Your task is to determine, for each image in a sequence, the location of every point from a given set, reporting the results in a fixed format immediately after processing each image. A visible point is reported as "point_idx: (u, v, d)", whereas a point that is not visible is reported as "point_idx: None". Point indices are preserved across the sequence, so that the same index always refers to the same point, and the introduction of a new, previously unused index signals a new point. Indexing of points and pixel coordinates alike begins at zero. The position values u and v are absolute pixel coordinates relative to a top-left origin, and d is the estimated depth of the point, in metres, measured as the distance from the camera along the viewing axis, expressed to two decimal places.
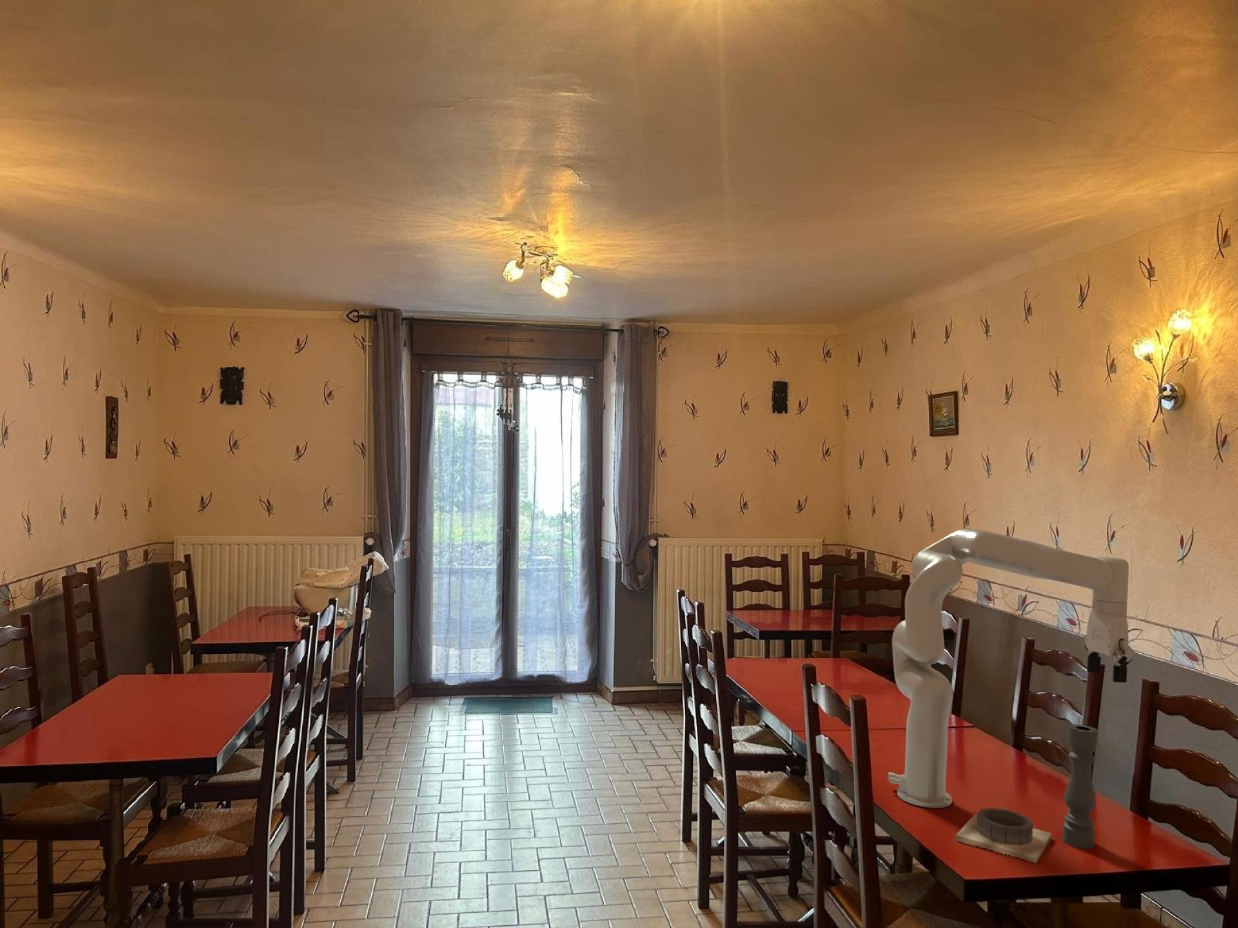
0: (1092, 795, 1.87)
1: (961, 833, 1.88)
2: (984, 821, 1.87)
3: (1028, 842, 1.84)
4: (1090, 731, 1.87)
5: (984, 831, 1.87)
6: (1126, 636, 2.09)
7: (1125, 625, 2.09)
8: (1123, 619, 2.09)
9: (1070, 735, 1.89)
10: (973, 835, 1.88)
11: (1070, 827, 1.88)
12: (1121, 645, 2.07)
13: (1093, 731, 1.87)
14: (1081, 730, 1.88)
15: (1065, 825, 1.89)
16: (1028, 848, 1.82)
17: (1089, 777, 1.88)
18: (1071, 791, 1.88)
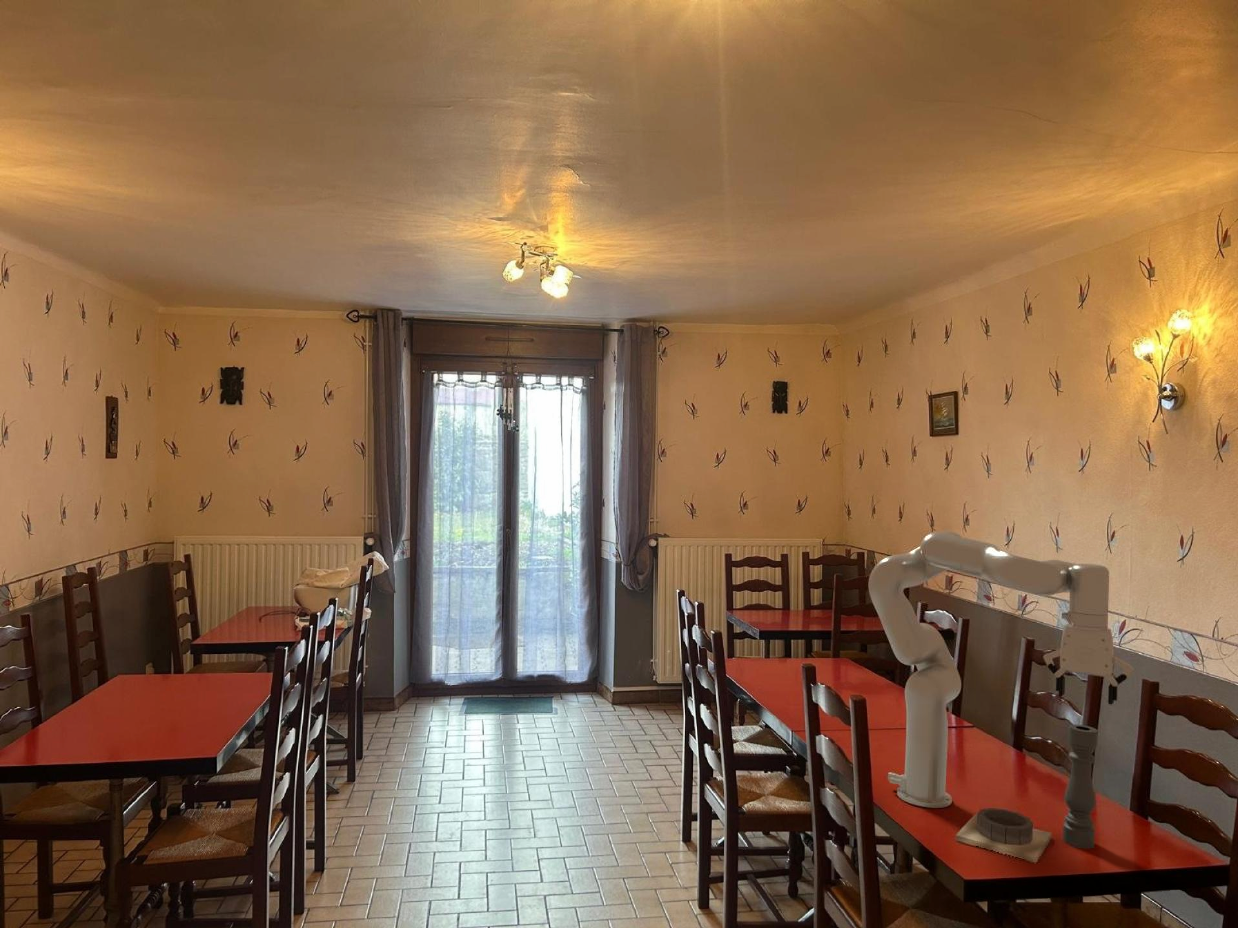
0: (1092, 795, 1.87)
1: (961, 833, 1.88)
2: (984, 821, 1.87)
3: (1028, 842, 1.84)
4: (1090, 731, 1.87)
5: (984, 831, 1.87)
6: None
7: (1112, 639, 1.87)
8: (1111, 632, 1.87)
9: (1070, 735, 1.89)
10: (973, 835, 1.88)
11: (1070, 827, 1.88)
12: (1117, 662, 1.85)
13: (1093, 731, 1.87)
14: (1081, 730, 1.88)
15: (1065, 825, 1.89)
16: (1028, 848, 1.82)
17: (1089, 777, 1.88)
18: (1071, 791, 1.88)
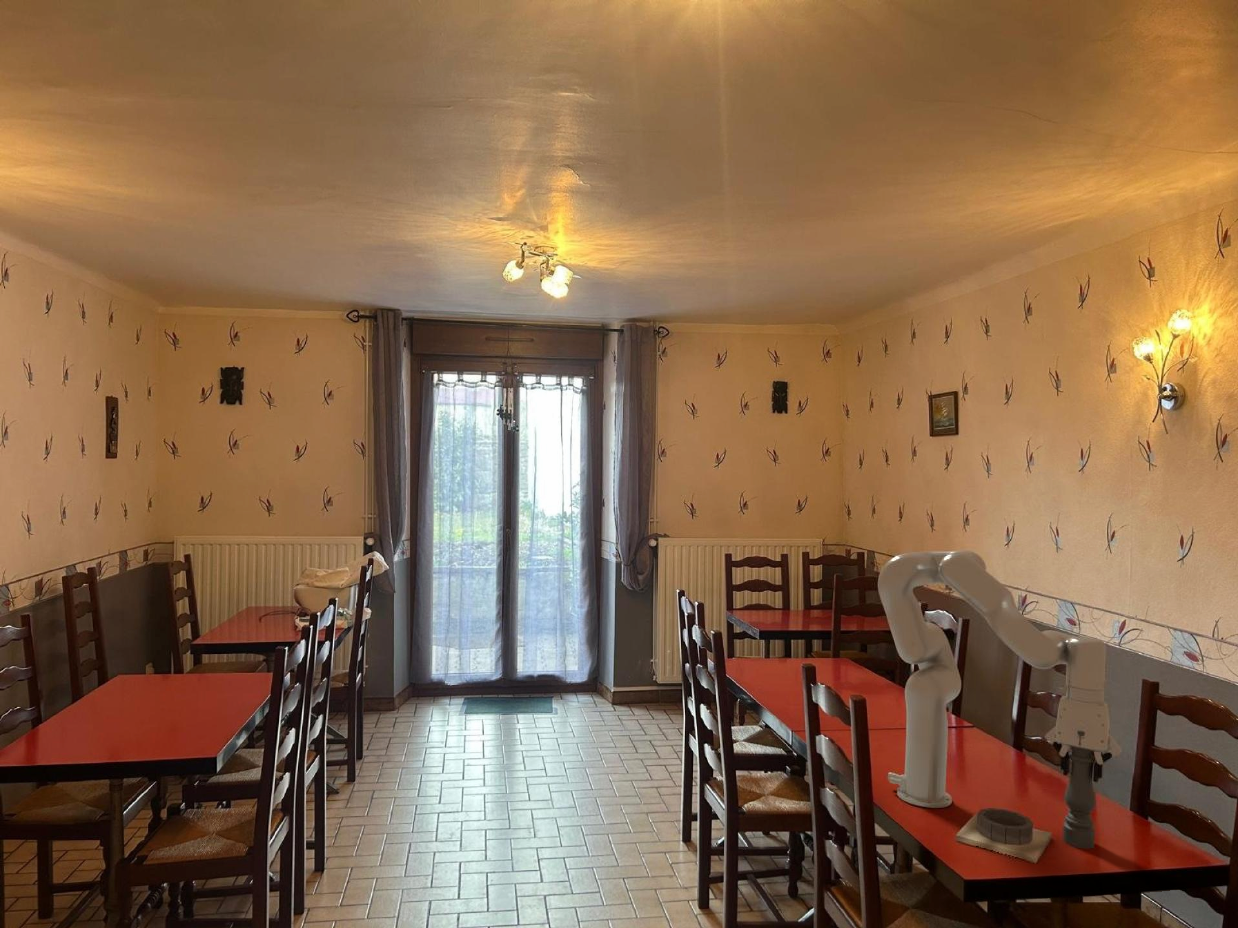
0: (1092, 795, 1.87)
1: (961, 833, 1.88)
2: (984, 821, 1.87)
3: (1028, 842, 1.84)
4: None
5: (984, 831, 1.87)
6: (1109, 725, 1.87)
7: (1108, 713, 1.87)
8: (1107, 706, 1.87)
9: None
10: (973, 835, 1.88)
11: (1070, 827, 1.88)
12: (1109, 740, 1.86)
13: None
14: None
15: (1065, 825, 1.89)
16: (1028, 848, 1.82)
17: (1089, 777, 1.88)
18: (1071, 791, 1.88)
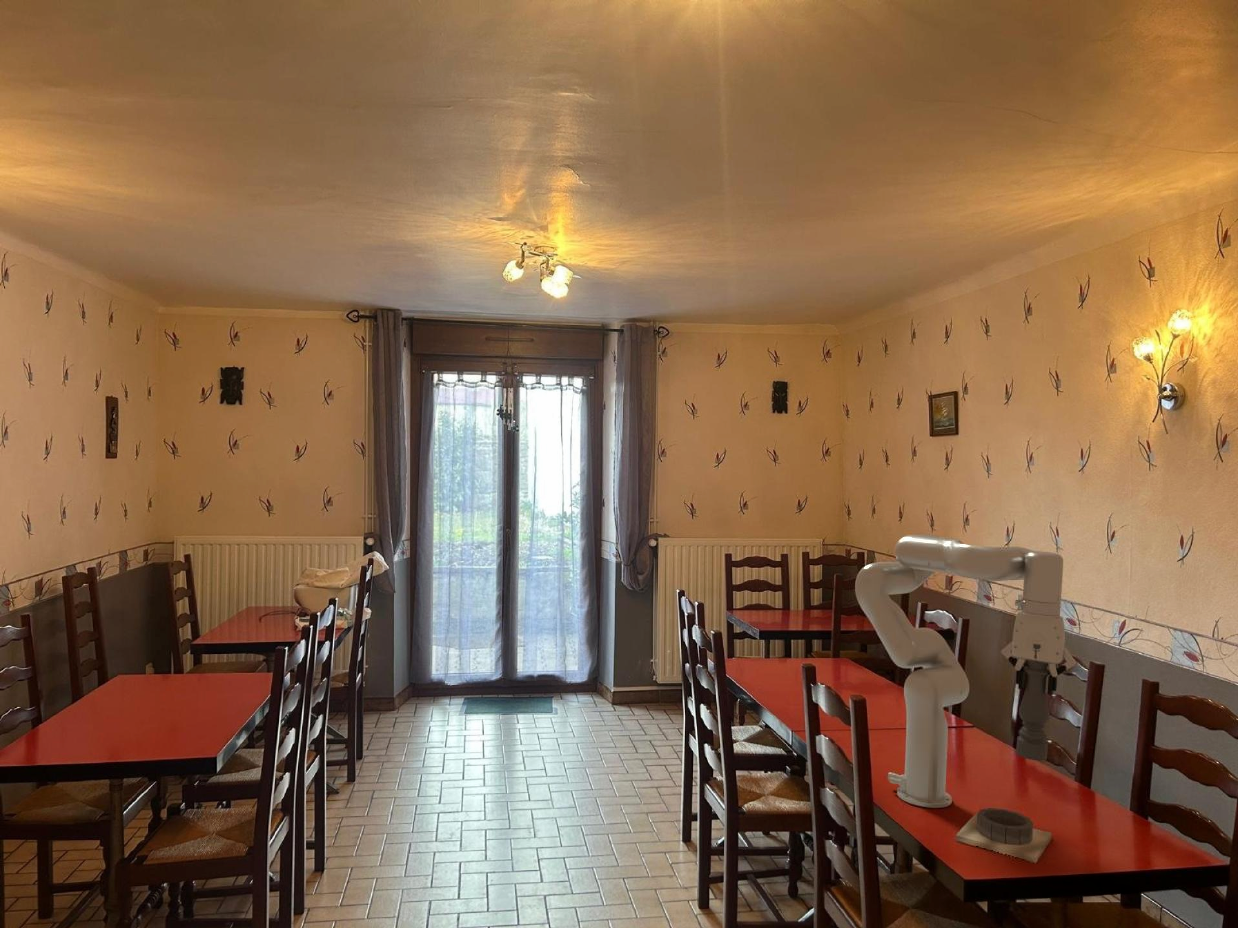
0: (1046, 708, 1.87)
1: (961, 833, 1.88)
2: (984, 821, 1.87)
3: (1028, 842, 1.84)
4: None
5: (984, 831, 1.87)
6: None
7: None
8: None
9: None
10: (973, 835, 1.88)
11: (1024, 740, 1.88)
12: (1064, 653, 1.86)
13: None
14: None
15: (1018, 738, 1.90)
16: (1028, 848, 1.82)
17: (1044, 690, 1.88)
18: (1026, 704, 1.88)
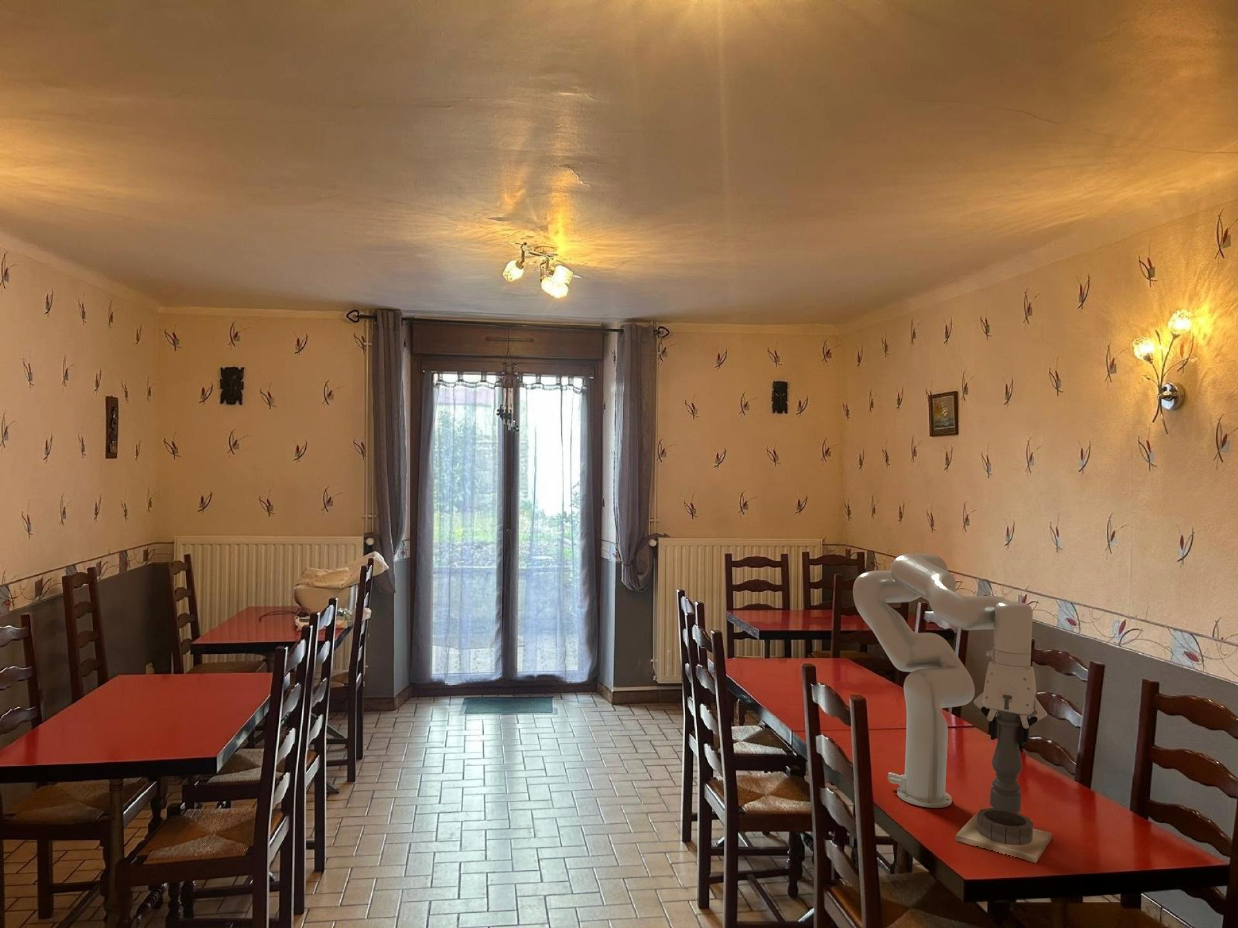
0: (1018, 759, 1.87)
1: (961, 833, 1.88)
2: (984, 821, 1.87)
3: (1028, 842, 1.84)
4: None
5: (984, 831, 1.87)
6: None
7: None
8: None
9: None
10: (973, 835, 1.88)
11: (996, 791, 1.88)
12: (1034, 704, 1.85)
13: None
14: None
15: (992, 790, 1.89)
16: (1028, 848, 1.82)
17: (1015, 741, 1.87)
18: (998, 755, 1.88)
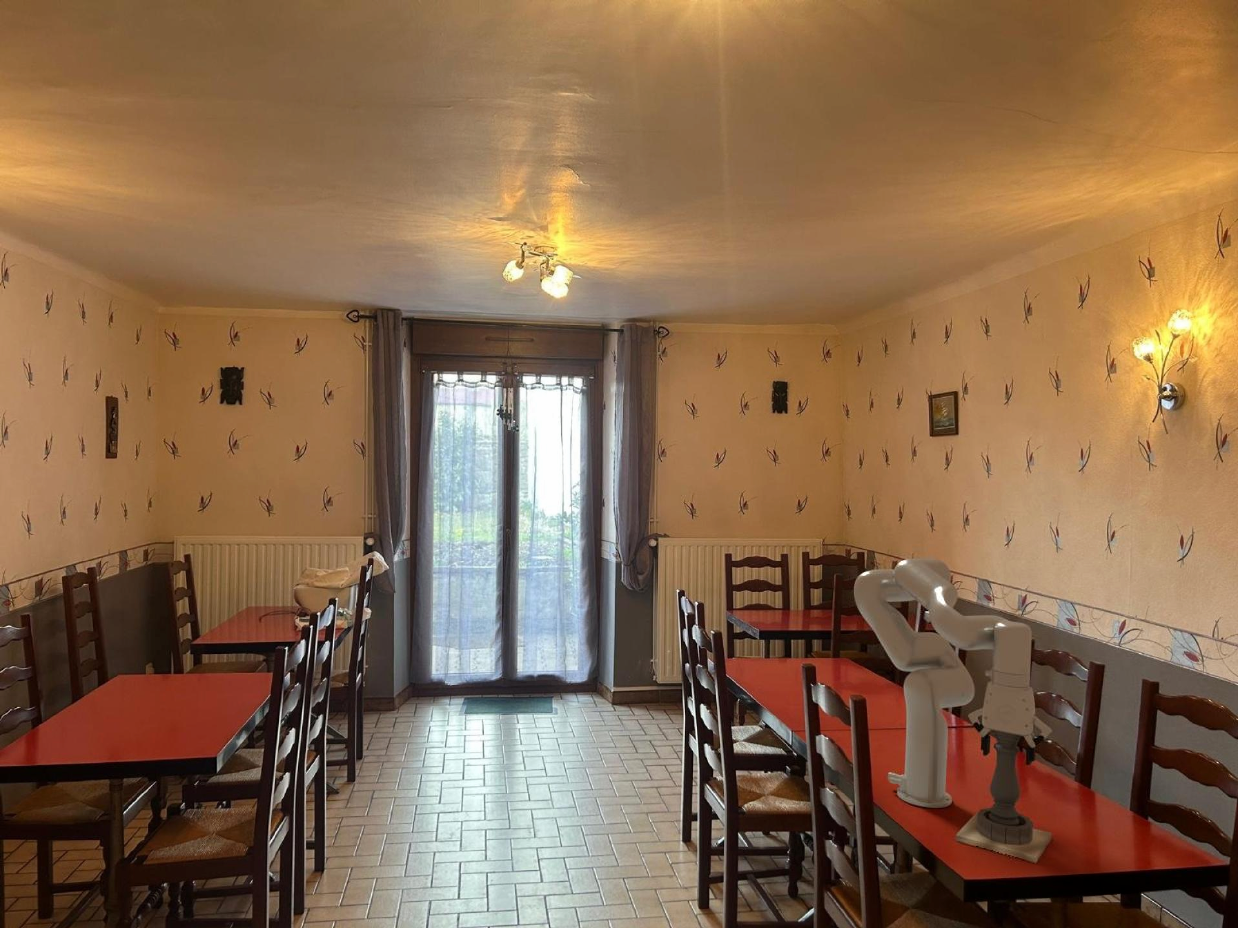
0: (1016, 786, 1.87)
1: (961, 833, 1.88)
2: (984, 821, 1.87)
3: (1028, 842, 1.84)
4: None
5: (984, 831, 1.87)
6: None
7: None
8: None
9: None
10: (973, 835, 1.88)
11: (994, 818, 1.88)
12: (1036, 723, 1.85)
13: None
14: None
15: (990, 816, 1.89)
16: (1028, 848, 1.82)
17: (1013, 768, 1.88)
18: (996, 781, 1.88)
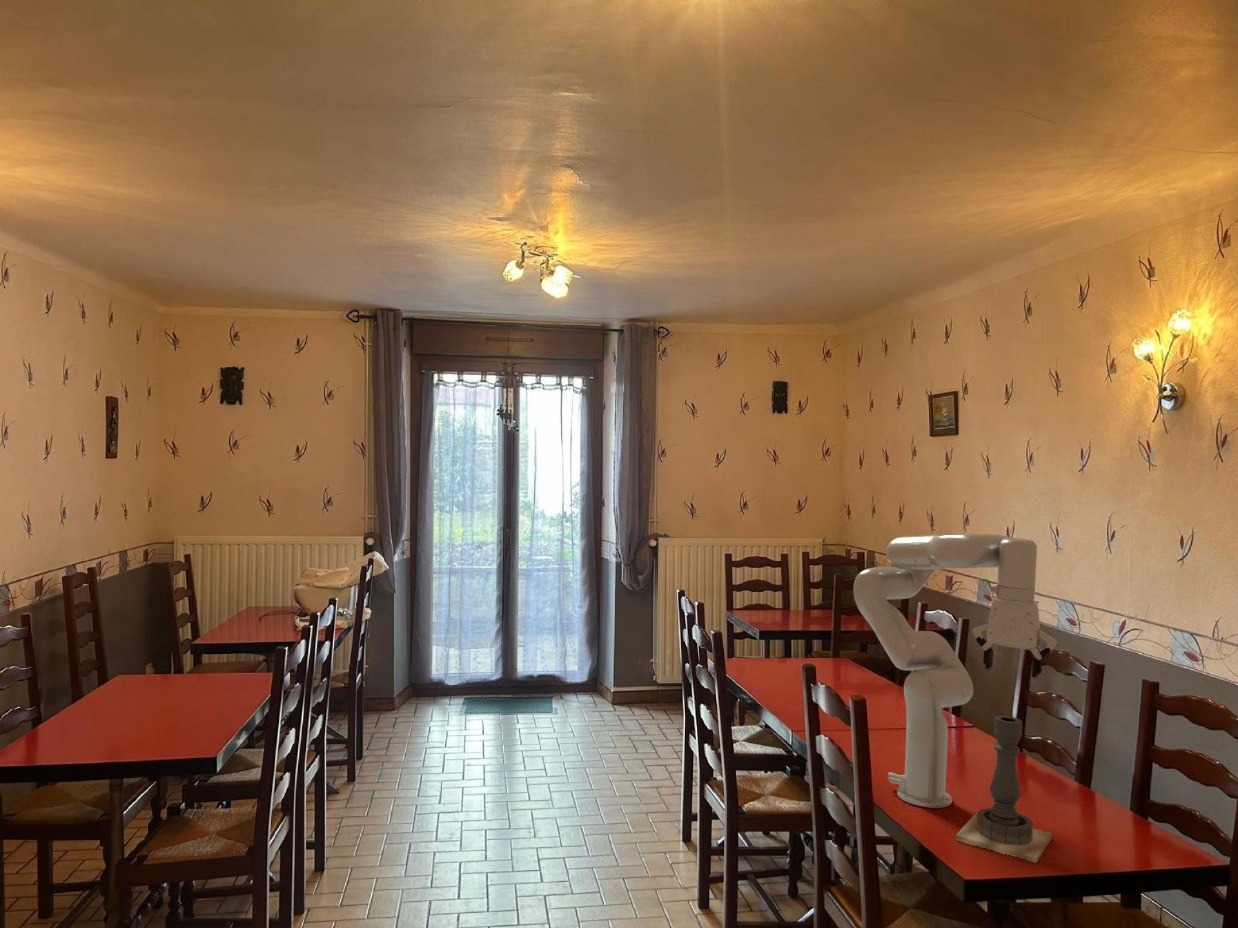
0: (1016, 786, 1.87)
1: (961, 833, 1.88)
2: (984, 821, 1.87)
3: (1028, 842, 1.84)
4: (1014, 722, 1.87)
5: (984, 831, 1.87)
6: (1039, 625, 1.88)
7: (1038, 613, 1.88)
8: (1037, 606, 1.88)
9: (995, 726, 1.89)
10: (973, 835, 1.88)
11: (994, 818, 1.88)
12: (1041, 636, 1.86)
13: (1017, 722, 1.87)
14: (1005, 721, 1.87)
15: (990, 816, 1.89)
16: (1028, 848, 1.82)
17: (1013, 768, 1.87)
18: (996, 782, 1.88)
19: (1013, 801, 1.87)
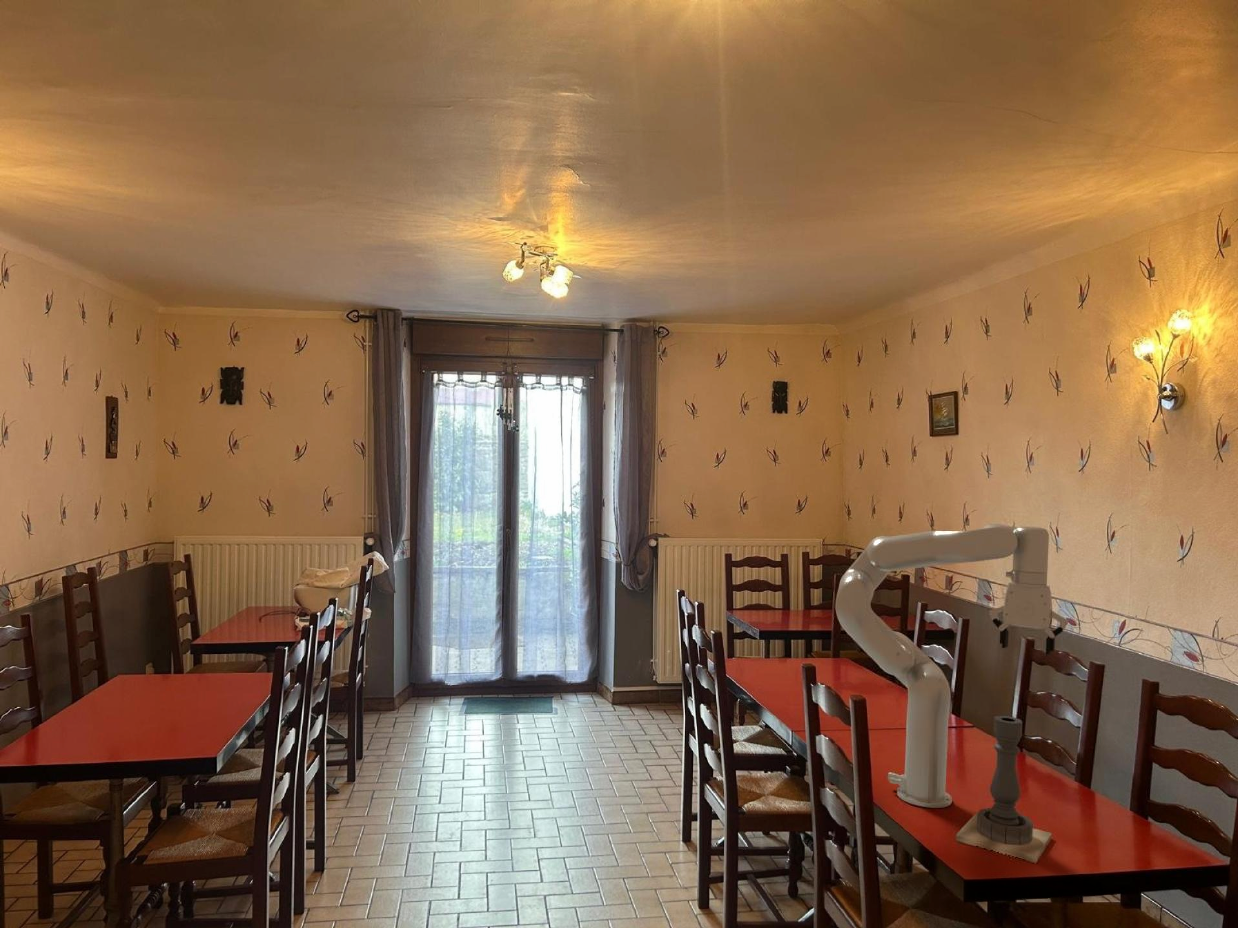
0: (1016, 786, 1.87)
1: (961, 833, 1.88)
2: (984, 821, 1.87)
3: (1028, 842, 1.84)
4: (1014, 722, 1.87)
5: (984, 831, 1.87)
6: None
7: None
8: None
9: (995, 726, 1.89)
10: (973, 835, 1.88)
11: (995, 818, 1.88)
12: (1054, 616, 2.02)
13: (1017, 722, 1.87)
14: (1005, 721, 1.87)
15: (990, 816, 1.89)
16: (1028, 848, 1.82)
17: (1013, 768, 1.87)
18: (996, 782, 1.88)
19: (1013, 801, 1.87)
